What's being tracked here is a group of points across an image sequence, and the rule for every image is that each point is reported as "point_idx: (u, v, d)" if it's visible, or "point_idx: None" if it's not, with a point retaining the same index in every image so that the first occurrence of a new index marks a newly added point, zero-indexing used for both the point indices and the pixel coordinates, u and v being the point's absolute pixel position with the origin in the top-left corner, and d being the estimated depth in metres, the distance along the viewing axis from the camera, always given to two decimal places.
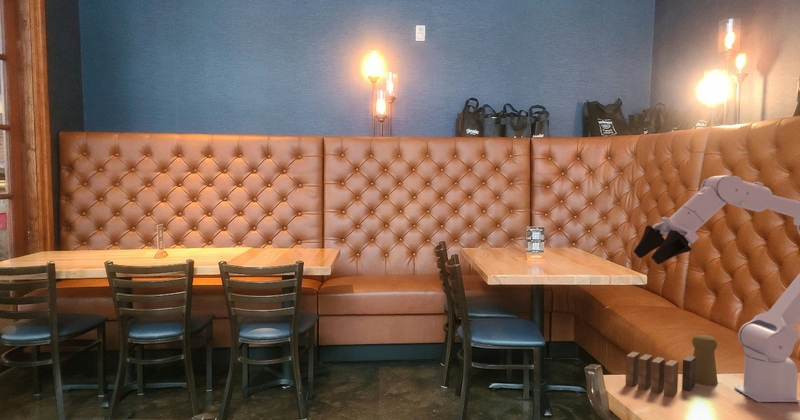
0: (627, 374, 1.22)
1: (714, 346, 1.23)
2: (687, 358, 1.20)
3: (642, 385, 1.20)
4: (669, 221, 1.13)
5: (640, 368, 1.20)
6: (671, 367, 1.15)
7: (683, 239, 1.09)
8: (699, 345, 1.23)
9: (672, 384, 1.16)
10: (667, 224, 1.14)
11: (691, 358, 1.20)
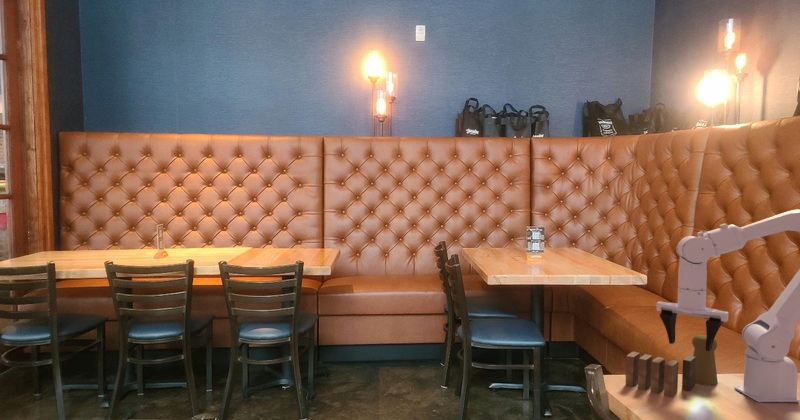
0: (627, 374, 1.22)
1: (714, 346, 1.23)
2: (687, 358, 1.20)
3: (642, 385, 1.20)
4: (692, 311, 1.17)
5: (640, 368, 1.20)
6: (671, 367, 1.15)
7: (720, 322, 1.15)
8: (699, 345, 1.23)
9: (672, 384, 1.16)
10: None
11: (691, 358, 1.20)
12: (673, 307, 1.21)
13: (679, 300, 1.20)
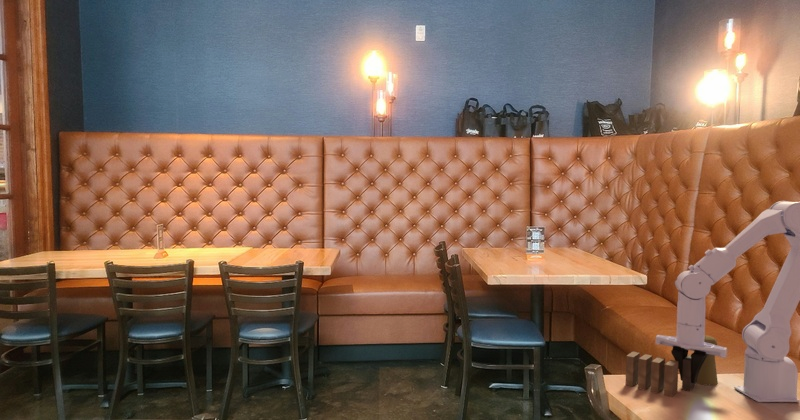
0: (627, 374, 1.22)
1: None
2: (687, 358, 1.20)
3: (642, 385, 1.20)
4: (691, 347, 1.17)
5: (640, 368, 1.20)
6: (671, 367, 1.15)
7: (705, 355, 1.18)
8: None
9: (672, 384, 1.16)
10: None
11: None
12: (672, 341, 1.21)
13: (678, 335, 1.20)
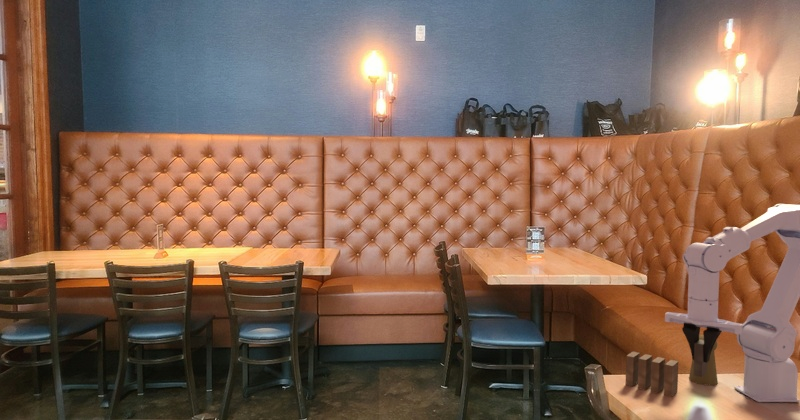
0: (627, 374, 1.22)
1: (714, 346, 1.23)
2: (699, 342, 1.13)
3: (642, 385, 1.20)
4: (704, 323, 1.10)
5: (640, 368, 1.20)
6: (671, 367, 1.15)
7: (719, 332, 1.10)
8: None
9: (672, 384, 1.16)
10: None
11: (703, 342, 1.13)
12: (683, 318, 1.13)
13: (689, 311, 1.12)
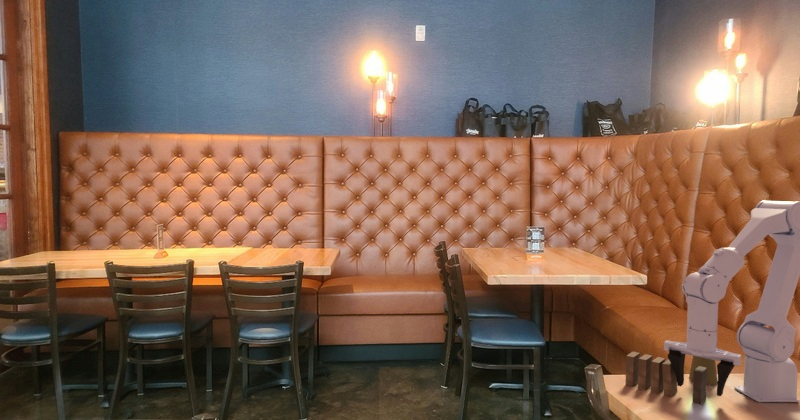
0: (627, 374, 1.22)
1: None
2: (698, 369, 1.13)
3: (642, 385, 1.20)
4: (703, 354, 1.10)
5: (640, 368, 1.20)
6: (669, 366, 1.15)
7: (733, 366, 1.08)
8: None
9: (671, 383, 1.16)
10: None
11: (702, 369, 1.13)
12: (682, 348, 1.14)
13: (688, 341, 1.13)
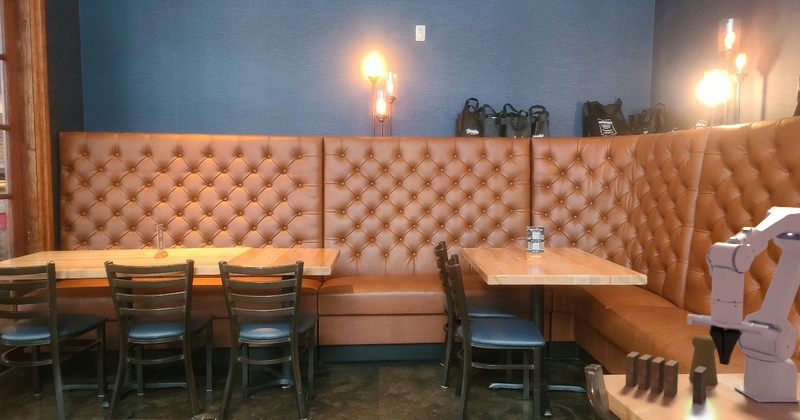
0: (627, 374, 1.22)
1: (714, 346, 1.23)
2: (698, 369, 1.13)
3: (642, 385, 1.20)
4: (728, 325, 1.07)
5: (640, 368, 1.20)
6: (671, 367, 1.15)
7: (740, 334, 1.07)
8: (699, 345, 1.23)
9: (672, 384, 1.16)
10: None
11: (702, 369, 1.13)
12: (706, 320, 1.10)
13: (713, 313, 1.09)
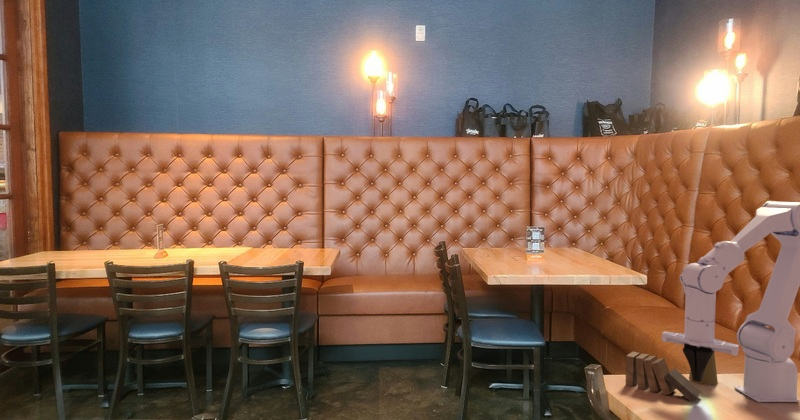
0: (627, 374, 1.22)
1: None
2: None
3: (641, 385, 1.20)
4: (700, 344, 1.10)
5: (638, 367, 1.20)
6: (657, 364, 1.17)
7: (711, 352, 1.11)
8: None
9: (666, 381, 1.16)
10: None
11: (670, 371, 1.17)
12: (680, 338, 1.14)
13: (686, 331, 1.13)
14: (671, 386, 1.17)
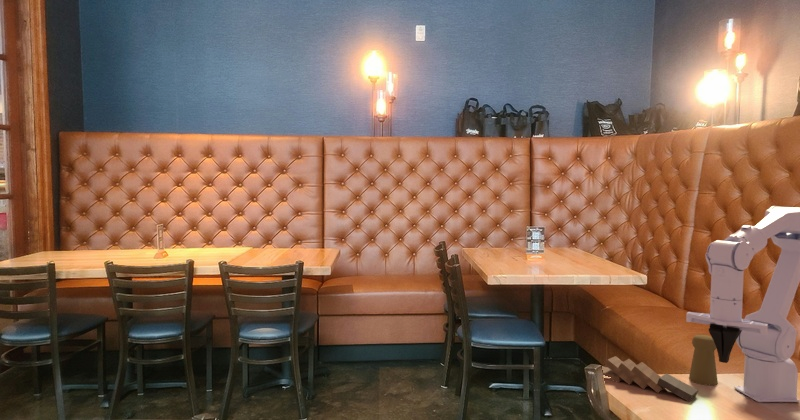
0: None
1: (714, 346, 1.23)
2: None
3: (628, 379, 1.22)
4: (728, 323, 1.06)
5: (613, 369, 1.25)
6: (635, 367, 1.21)
7: (739, 332, 1.07)
8: (699, 345, 1.23)
9: (652, 379, 1.19)
10: None
11: None
12: (705, 318, 1.10)
13: (712, 311, 1.09)
14: None
